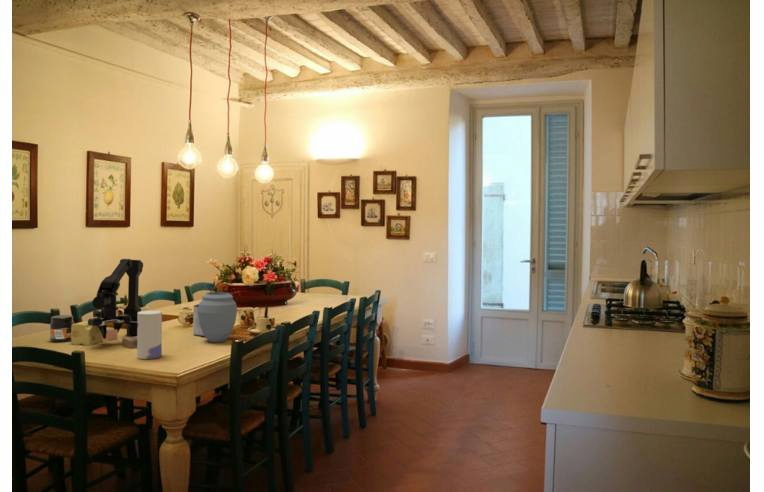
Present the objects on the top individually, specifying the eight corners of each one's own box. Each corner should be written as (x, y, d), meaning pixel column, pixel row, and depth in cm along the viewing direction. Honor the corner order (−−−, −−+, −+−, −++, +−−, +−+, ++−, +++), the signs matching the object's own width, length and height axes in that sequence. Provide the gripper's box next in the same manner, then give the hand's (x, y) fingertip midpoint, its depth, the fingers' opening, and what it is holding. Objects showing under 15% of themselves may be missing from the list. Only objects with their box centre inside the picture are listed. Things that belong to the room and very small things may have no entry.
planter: (186, 335, 302) (186, 306, 301) (206, 330, 317) (206, 302, 316) (210, 338, 296) (211, 308, 295) (230, 332, 311) (230, 304, 310)
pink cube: (111, 338, 277) (111, 328, 277) (117, 339, 274) (117, 329, 274) (101, 340, 273) (101, 329, 273) (107, 341, 270) (107, 331, 270)
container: (141, 354, 257) (141, 310, 256) (164, 354, 258) (164, 310, 257) (133, 359, 247) (134, 313, 246) (157, 359, 248) (157, 313, 247)
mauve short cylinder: (138, 344, 278) (138, 335, 278) (146, 346, 273) (146, 338, 273) (122, 346, 272) (122, 338, 272) (130, 349, 267) (130, 340, 267)
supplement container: (57, 343, 275) (57, 319, 274) (45, 341, 280) (45, 316, 280) (78, 340, 284) (78, 316, 283) (67, 337, 289) (67, 314, 289)
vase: (244, 339, 295) (245, 292, 294) (222, 346, 276) (222, 296, 275) (212, 336, 301) (213, 290, 300) (188, 342, 283) (189, 294, 282)
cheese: (89, 345, 272) (89, 325, 272) (69, 344, 274) (69, 323, 274) (104, 341, 282) (104, 321, 282) (85, 340, 284) (85, 320, 284)
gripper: (118, 302, 285) (118, 332, 286) (81, 306, 270) (81, 338, 271) (131, 304, 279) (131, 335, 280) (94, 308, 264) (94, 341, 264)
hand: (109, 337), depth 274 cm, fingers closed on pink cube, 5 cm apart
